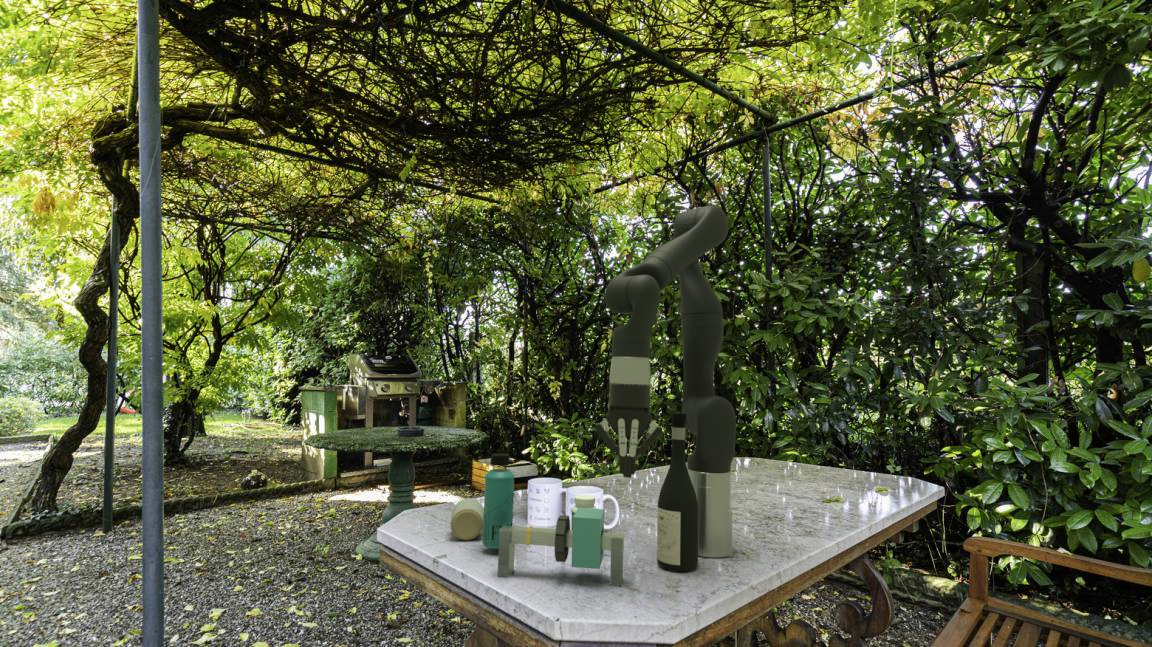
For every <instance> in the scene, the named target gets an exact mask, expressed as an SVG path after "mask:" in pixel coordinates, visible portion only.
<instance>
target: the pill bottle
mask: <svg viewBox="0 0 1152 647" xmlns="http://www.w3.org/2000/svg"><path fill="white" fill-rule="evenodd" d="M573 501H574V504H575V505H574V506H573V507H572V509H571V524H570V530H572V529H573V516H574V514H575V513H576V511H577V509H578V508H590V509H597V508H596V506H595V504H596V496H594V495H588V494H578V495H577V494H576V495H575V496H574V498H573Z"/></svg>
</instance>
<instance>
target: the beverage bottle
mask: <svg viewBox="0 0 1152 647" xmlns="http://www.w3.org/2000/svg"><path fill="white" fill-rule="evenodd" d="M510 457H511V456H510V454H509V453H504V452H503V453H501V452H498V453H491V456H490V461H489V462H490V465H493V466H508V465H510V464H511V460H510V459H511V458H510ZM515 488H516V487H515V474H514V473H513V472H512V471H511V470H510V469H506V468H492V469H490V470H489V471H487V472H486V473H485V475H484V495H483V496H484V498H483V499H484V500H483V508H484V517H483V533H482V534H481V535H482V538H481V539H482V545H483V547H484V548H485V547H486V548H490V549H499V532H500V528H501V527H502V526H514V499H515Z"/></svg>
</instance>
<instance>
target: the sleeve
mask: <svg viewBox="0 0 1152 647" xmlns="http://www.w3.org/2000/svg"><path fill="white" fill-rule="evenodd" d="M601 532H604V533H605V509H603V508H596V509H590V508H578V509H577V511H576V513H575V514H574V516H573V529H572V548H571V568H578V569H590V570H591V569H594V570H600V569H601V566H602V562H603V560H604V551H605V550H601Z"/></svg>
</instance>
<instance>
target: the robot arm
mask: <svg viewBox="0 0 1152 647" xmlns="http://www.w3.org/2000/svg"><path fill="white" fill-rule="evenodd" d="M728 222H729V220H728V218H727V215H726V213H725V211H724V210H723V209H722V208H721V207H719V206H717V205H705V206H700V207H697V208H696V207H695V208H693V209H690V210H685V211H682V212H679V213H678V214H677V215H676V216H675V219H674V223H673V239H671V240H670V241H667V242H666V243H664V244H662V245H660V246H659V247H657V248H656V249H654V250H653V251H652V252H651V253H649V254H648V255H647V256H646V257H645V258H644V259H643V260H642V261H641V262H640V263H638V264H636V265H633V266H632V267H630V268H628V269H626V270H624V271H622V272H620V273H619V274H617V275H616V276H614V277H613V278H612V279H611V280H610V281H609V283H608V284H607V286H606V289H605V292H604V301H605V304H606V306H607V308H608V309H609V310H611V311H612V312H613V313H616V314H621V315H623V314H631V315H630V316H629V320H628V321H627V323H625V324H623V325H620V326H617V327H615V328H614V330H613V332H612V346H611V364H610V367H609V368H610V371H609V377H608V378H609V395H608V396H609V398H608V410H607V413H606V414H605V419H603V420H602V421H601V422H598V423H596V424H595V426H594V430H595V431H596V432H597V434H598V435H599V437H600V438H601V440H602V441H603V442H604V444H605V445H606V446H607V448H608V449H609V451H610V452H611V453H614V454H617V455H618V456H619V473H620V474H621V475H623V478H627V479H629V478H632V475H633V476H634V475H635V473H636V468H637V467H636V462H637V456H640V455H643V454H645V453H646V452H647V451H648V450H649V449H650V448H651V446H652V445H653V444H654V443H655V441H656V440H657V439H658V438H659V437H660V435H661V434H662V433H663V428H662V426H660V425H657V423H656V422H654V421H653V417H652V414H651V411H650V409H651V408H650V407H651V403H650V402H651V380H652V379H651V360H650V350H651V349H650V348H651V335H652V332H653V328H654V324H655V320H656V317H657V314H658V310H659V307H660V304H661V291H663V290H665V288H667V286H669V285H670V284H671V283H672V282H673V280H674V279H676V277H678V279H679V280H678V281H679V292H680V293H679V296H680V327H681V339H682V364H683V385H682V387H683V388H682V401H681V403H682V405H681V413H686V425H685V429H686V430H687V431H688V432H690V433H691V434H693V435H695V436H696V437H695V438H696V439H695V449H694V450H693V452H692V453H690V454H689V455H688V456H687V459H686V460H687V461H686V466H687V470H688V473H689V476H690V479H691V482H692V484H693V487H694V490H695V493H696V497H697V502H698V557H704V558H724V557H725V558H726V557H733V510H732V508H731V504H732V503H731V502H732V500H731V499H732V497H731V494H732V492H731V490H732V489H731V486H732V485H731V484H732V483H731V481H732V480H731V478H732V474H731V470H732V462H733V460H734V458H735V454H736V453H735V451H736V438H737V437H736V434H737V419H736V418H737V416H736V413H735V412H736V411H735V408H734V407H733V404H732V403H731V402H730V401H729V400H728V399H726V398H724V397H722V396H717V395H716V393H715V383H714V379H715V378H714V374H715V367H716V362H717V360H718V357H719V354H720V351H721V347H722V344H723V340H724V315H723V305H722V303H721V301H720V299H719V297H718V296H717V294H716V292H715V290H714V289H713V288H712V287H711V285H710V283H709V282H708V281H707V279H706V278H705V276H704V274H703V271H702V269H701V264H700V257H702V256H703V255H705V254H706V253H707V252H709V251H711V250H713V249H714V248H717V247H718V246H719V245H721V244H722V243H723V242H724V241H725V240H726V239H727V236H728V232H729V223H728ZM648 427H649V429H648V433H649V436H648V437H647V438H646V439H645V440H644V442H643V443H642V444H640V446H638V438H639V437H641V436H642V435H643V434H644V432H645V431H646V429H647V428H648ZM609 428H611V429H612V431H613V432H614V434H615V435H616V436H618V444H619V445H617V444H616V442H615V441H614V439H613V437H612V436H611V435H610V433H608V431H609V430H610V429H609ZM628 437H629V438H630V440H629V450H628V446H627V444H628V443H627V441H628V440H627V438H628ZM637 446H638V447H637Z"/></svg>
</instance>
